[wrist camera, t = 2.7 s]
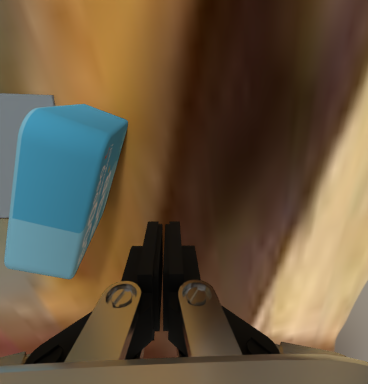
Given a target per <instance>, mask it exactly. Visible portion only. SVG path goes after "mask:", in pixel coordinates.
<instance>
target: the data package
mask: <svg viewBox="0 0 368 384" xmlns="http://www.w3.org/2000/svg"><path fill="white" fill-rule="evenodd" d="M127 127H128V121H127V120H125V119H123V118H120V117H117V116H115V115H112V114H110V113H107V112H104V111H102V110H99V109H96V108H94V107H91V106H88V105H86V104H78V105H65V106H52V107H40V108H35V109H33V110H31V111H30V112H29V113H28V114H27V115H26V116H25V118H24V120H23V121H22V124H21V126H20V129H19V133H18V139H17V148H16V157H15V166H14V176H13V185H12V194H11V204H10V213H9V222H8V231H7V241H6V250H5V260H4V262H5V266H6V267H7V268H9V269H14V270H19V271H25V272H31V273H36V274H42V275H48V276H53V277H59V278H64V279H71V278H73V277H74V275H75V274H76V271H77V269H78V267H79V265H80V263H81V261H82V258H83V256H84V254H85V252H86V250H87V247H88V245H89V243H90V241H91V239H92V236H93V234H94V232H95V230H96V228H97V226H98V223H99V221H100V219H101V217H102V214H103V211H104V209H105V205H106V202H107V199H108V195H109V191H110V188H111V184H112V181H113V177H114V174H115V170H116V167H117V163H118V160H119V156H120V152H121V149H122V145H123V142H124V138H125V135H126V131H127Z"/></svg>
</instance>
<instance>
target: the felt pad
mask: <svg viewBox="0 0 368 384" xmlns="http://www.w3.org/2000/svg"><path fill="white" fill-rule="evenodd" d="M52 106H55V103H54V97H53V95H29V94H0V218H9V213H10V204H11V194H12V185H13V176H14V166H15V157H16V148H17V139H18V133H19V129H20V126H21V124H22V121H23V120H24V118H25V116H26V115H27V114H28V113H29V112H30V111H31V110H33V109H35V108H40V107H52Z"/></svg>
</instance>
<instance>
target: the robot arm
mask: <svg viewBox="0 0 368 384" xmlns="http://www.w3.org/2000/svg"><path fill="white" fill-rule="evenodd" d="M162 273H163V331H168V340H169V341H170V342H171V343H173V344H174V345H175V346H176V347H177V358H152V359H143V356H144V348H145V347H146V346H147V345H148V344H149V343H150V342H151V341H152V340H154V333H155V331H159V330H160V311H161V292H162ZM0 384H368V362H366V361H361V360H357V359H352V358H348V357H346V356H344V355H342V354H339V353H336V352H331V351H326V350H321V349H316V348H311V347H306V346H300V345H295V344H290V343H285V342H281V343H280V345H278V344H274V342H273V341H272V340H270V339H269V338H268V337H267V336H265V335H264V334H263V333H261V332H260V331H258V330H257V329H255V328H254V327H252V326H251V325H249V324H248V323H246V322H245V321H243V320H242V319H240V318H239V317H238V316H236V315H235V314H233V313H232V312H230V311H229V310H227V309H226V308H224V307H223V306H221V304H220V302H219V299H218V297H217V295H216V293H215V290H214V289H213V287H212V286H211V285H210V284H208V283H207V282H204V281H201V280H200V274H199V268H198V263H197V257H196V251H195V246H181V234H180V222H170V224H165V244H164V265H163V240H162V224H159V223H158V222H148V224H147V229H146V234H145V239H144V244H143V246H132V247H131V250H130V253H129V257H128V260H127V263H126V267H125V270H124V274H123V277H122V280H121V282H117V283H115V284H112V285H111V286H109V287H108V288H107V289H106V290H105V291H104V293H103V294H102V296H101V298H100V299H99V301H98V303H97V305H96V307H95V308H94V310H93V311H92V312H90V313H89V314H87V315H86V316H84V317H83V318H81V319H80V320H78V321H77V322H75V323H74V324H72V325H71V326H69V327H68V328H66V329H65V330H63V331H62V332H60V333H58V334H57V335H55V336H54V337H52V338H51V339H49V340H48V341H46V342H45V343H43V344H42V345H40V346H39V347H38V348H37V349H35V350H34V351H33V352H32V353H31V354H28V355H27V354H26V352H21V353H17V354H13V355H9V356H5V357H1V358H0Z"/></svg>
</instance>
